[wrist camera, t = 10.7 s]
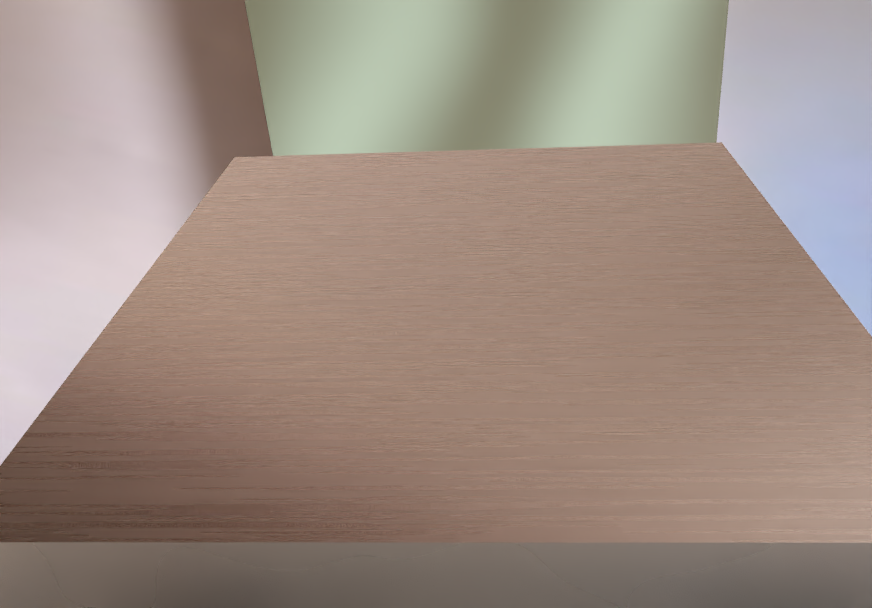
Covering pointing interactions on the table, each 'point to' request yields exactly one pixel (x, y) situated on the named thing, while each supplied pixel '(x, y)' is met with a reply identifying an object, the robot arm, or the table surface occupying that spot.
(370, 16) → the stand
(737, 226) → the block
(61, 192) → the table surface
